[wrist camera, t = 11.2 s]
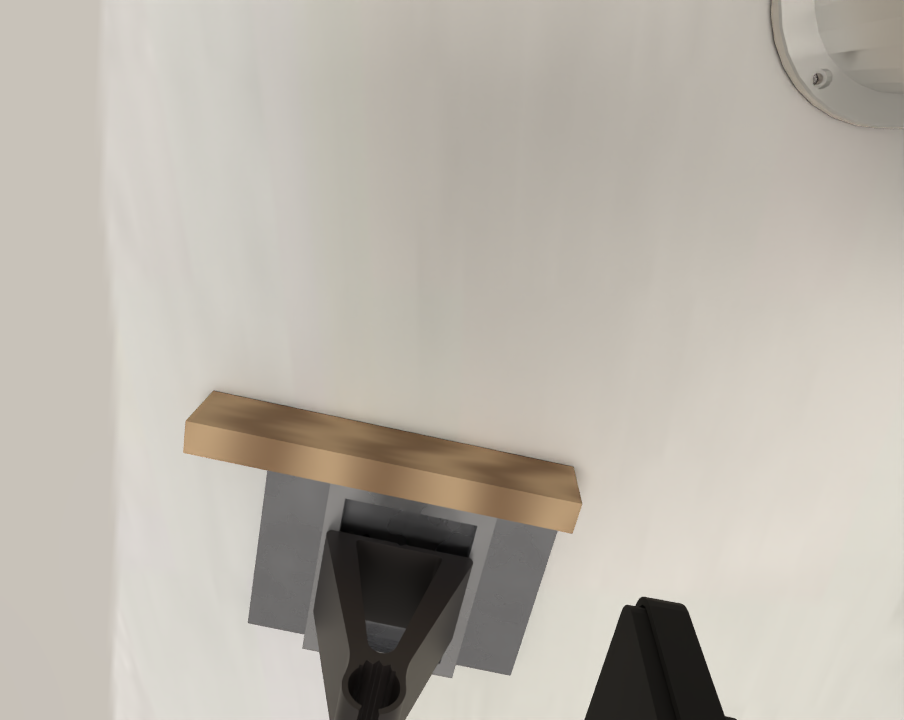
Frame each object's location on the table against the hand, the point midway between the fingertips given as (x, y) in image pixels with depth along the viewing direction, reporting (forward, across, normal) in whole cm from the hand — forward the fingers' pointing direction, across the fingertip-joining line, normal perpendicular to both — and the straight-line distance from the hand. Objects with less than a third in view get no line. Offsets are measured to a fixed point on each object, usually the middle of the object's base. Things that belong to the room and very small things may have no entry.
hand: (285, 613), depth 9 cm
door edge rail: (+28, +1, +14) cm, 31 cm away
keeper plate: (+28, -1, +22) cm, 36 cm away
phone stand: (+26, 0, +22) cm, 34 cm away
